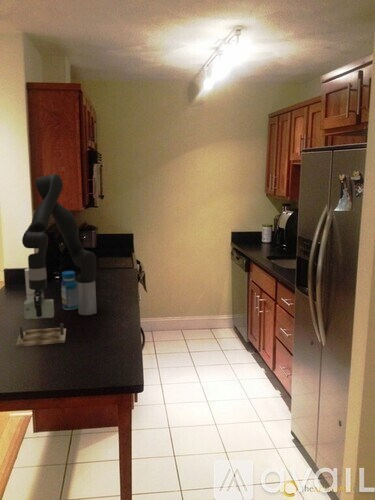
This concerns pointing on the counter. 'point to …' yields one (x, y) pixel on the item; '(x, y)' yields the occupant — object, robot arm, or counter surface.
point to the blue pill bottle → (69, 291)
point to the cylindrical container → (28, 290)
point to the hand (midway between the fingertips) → (39, 314)
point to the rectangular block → (46, 309)
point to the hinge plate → (40, 342)
